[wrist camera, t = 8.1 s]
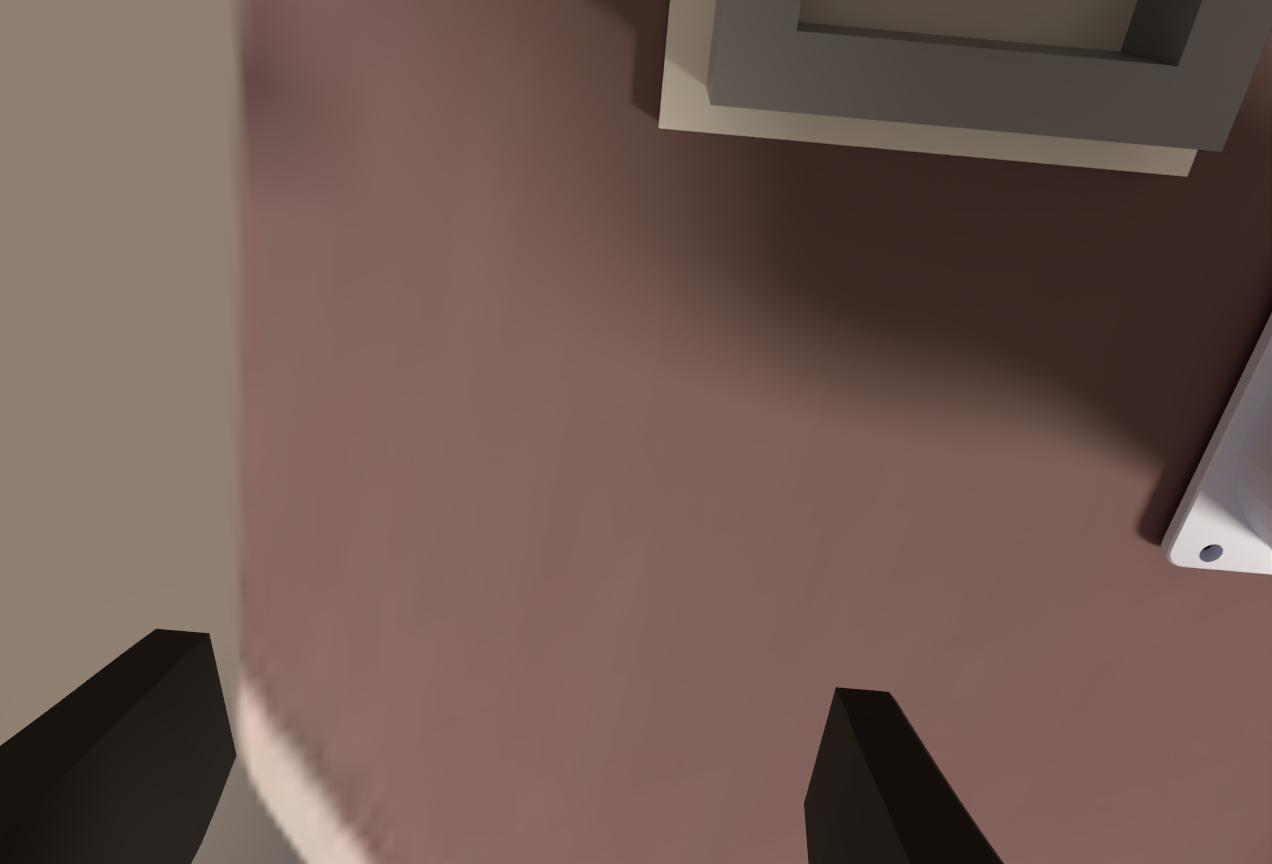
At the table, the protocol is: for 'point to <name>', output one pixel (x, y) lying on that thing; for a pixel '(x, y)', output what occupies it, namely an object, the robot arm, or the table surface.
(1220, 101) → the hub plate
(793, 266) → the table surface
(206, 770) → the robot arm
